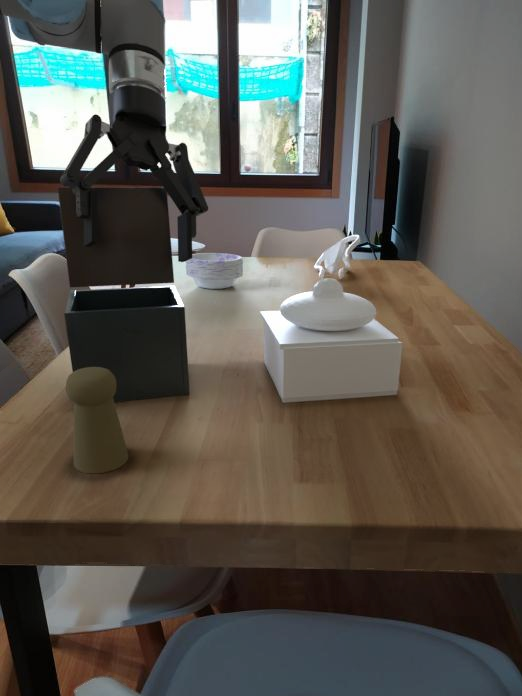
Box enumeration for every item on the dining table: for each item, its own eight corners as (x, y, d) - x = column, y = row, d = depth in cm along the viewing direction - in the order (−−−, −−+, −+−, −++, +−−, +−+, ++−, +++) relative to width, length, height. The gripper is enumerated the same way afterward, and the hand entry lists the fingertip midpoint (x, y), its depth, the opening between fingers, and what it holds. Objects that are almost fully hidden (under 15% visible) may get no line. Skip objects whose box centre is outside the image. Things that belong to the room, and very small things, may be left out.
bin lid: (166, 187, 83) (166, 188, 84) (57, 187, 79) (58, 187, 80) (174, 282, 86) (173, 282, 87) (69, 287, 82) (70, 287, 83)
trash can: (189, 394, 80) (184, 306, 75) (77, 405, 76) (63, 313, 71) (179, 363, 92) (174, 285, 87) (81, 371, 88) (70, 290, 83)
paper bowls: (248, 281, 154) (248, 252, 151) (235, 293, 140) (235, 262, 137) (196, 278, 156) (195, 250, 153) (179, 290, 142) (177, 259, 139)
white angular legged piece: (373, 277, 152) (371, 250, 170) (354, 251, 149) (355, 226, 167) (324, 308, 159) (327, 279, 177) (305, 284, 156) (311, 257, 174)
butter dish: (397, 394, 81) (408, 290, 75) (279, 403, 78) (280, 293, 72) (359, 355, 97) (366, 266, 91) (260, 361, 94) (260, 268, 88)
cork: (65, 457, 63) (50, 369, 58) (114, 441, 66) (104, 357, 62) (86, 479, 59) (72, 386, 54) (137, 461, 62) (128, 372, 58)
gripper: (51, 47, 63) (53, 228, 62) (229, 115, 79) (232, 260, 79) (32, 77, 69) (34, 243, 68) (202, 135, 85) (205, 270, 84)
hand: (140, 252), depth 73 cm, fingers open, 13 cm apart
